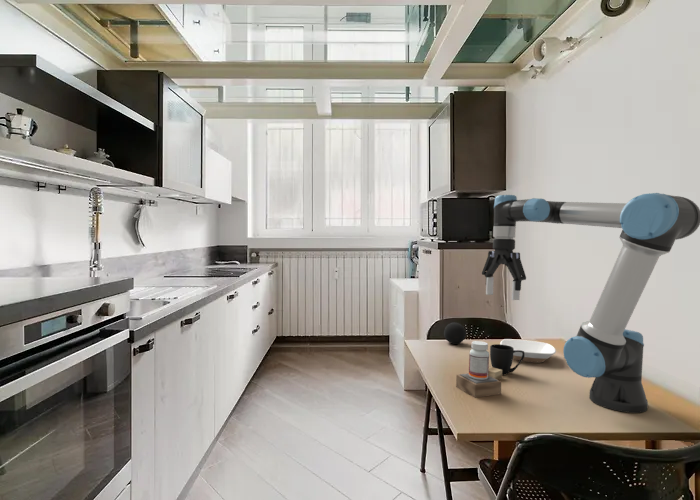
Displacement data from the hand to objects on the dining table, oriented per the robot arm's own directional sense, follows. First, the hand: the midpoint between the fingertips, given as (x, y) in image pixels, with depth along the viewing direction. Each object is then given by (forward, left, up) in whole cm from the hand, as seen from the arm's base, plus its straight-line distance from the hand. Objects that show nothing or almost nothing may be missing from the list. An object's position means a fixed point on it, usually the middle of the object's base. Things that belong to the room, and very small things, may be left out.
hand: (501, 297), depth 153 cm
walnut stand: (-10, +17, -29) cm, 35 cm away
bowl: (+16, -28, -29) cm, 43 cm away
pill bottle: (-10, +17, -25) cm, 32 cm away
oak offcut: (-1, +4, -29) cm, 29 cm away
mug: (+2, -5, -29) cm, 29 cm away
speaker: (+45, -12, -29) cm, 55 cm away
